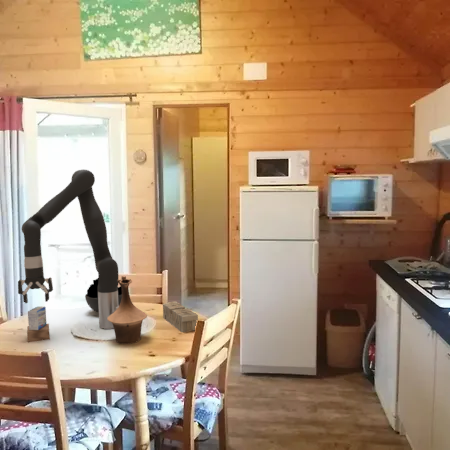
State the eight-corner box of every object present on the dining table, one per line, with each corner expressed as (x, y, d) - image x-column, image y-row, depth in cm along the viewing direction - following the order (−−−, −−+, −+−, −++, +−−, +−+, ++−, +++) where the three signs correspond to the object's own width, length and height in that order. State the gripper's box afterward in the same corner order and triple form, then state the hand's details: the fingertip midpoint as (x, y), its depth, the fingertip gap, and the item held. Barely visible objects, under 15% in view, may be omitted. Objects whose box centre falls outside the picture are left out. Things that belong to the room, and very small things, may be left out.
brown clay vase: (105, 336, 218) (102, 274, 215) (143, 331, 224) (140, 271, 222) (111, 349, 202) (108, 282, 199) (152, 343, 208) (149, 278, 205)
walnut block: (49, 334, 224) (48, 323, 223) (49, 340, 216) (49, 329, 215) (28, 336, 221) (27, 326, 220) (27, 343, 212) (27, 331, 212)
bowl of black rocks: (117, 305, 271) (116, 272, 269) (130, 313, 254) (129, 278, 252) (81, 311, 260) (79, 276, 258) (92, 320, 243) (90, 283, 241)
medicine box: (38, 330, 213) (37, 311, 213) (28, 330, 214) (27, 310, 213) (46, 325, 221) (45, 306, 220) (37, 324, 222) (36, 306, 221)
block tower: (162, 319, 247) (182, 333, 220) (161, 303, 246) (181, 315, 220) (177, 317, 250) (198, 331, 223) (176, 301, 249) (197, 313, 223)
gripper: (52, 263, 220) (54, 298, 222) (18, 265, 217) (21, 301, 219) (49, 266, 213) (52, 302, 214) (14, 268, 210) (17, 305, 212)
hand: (36, 302), depth 217 cm, fingers open, 8 cm apart
